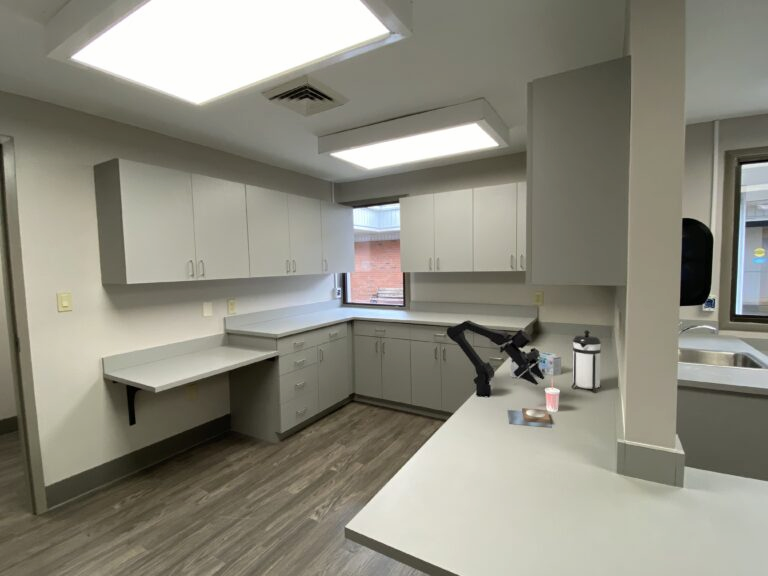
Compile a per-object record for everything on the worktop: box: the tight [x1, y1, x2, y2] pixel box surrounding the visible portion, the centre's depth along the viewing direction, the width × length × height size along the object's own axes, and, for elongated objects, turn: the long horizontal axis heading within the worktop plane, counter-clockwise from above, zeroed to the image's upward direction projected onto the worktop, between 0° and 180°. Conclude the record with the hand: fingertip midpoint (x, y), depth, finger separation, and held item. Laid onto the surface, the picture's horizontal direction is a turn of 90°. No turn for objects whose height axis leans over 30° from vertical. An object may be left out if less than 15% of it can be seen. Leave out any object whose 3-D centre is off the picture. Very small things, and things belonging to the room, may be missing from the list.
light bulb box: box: [538, 351, 562, 377], centre depth 217 cm, size 11×7×11 cm, turn 25°
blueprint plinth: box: [507, 407, 552, 429], centre depth 157 cm, size 16×14×2 cm
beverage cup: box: [544, 378, 561, 413], centre depth 165 cm, size 6×6×14 cm
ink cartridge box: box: [510, 358, 530, 379], centre depth 210 cm, size 10×6×14 cm, turn 53°
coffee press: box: [571, 329, 602, 394], centre depth 191 cm, size 17×16×30 cm
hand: (540, 381), depth 167 cm, fingers open, 9 cm apart
